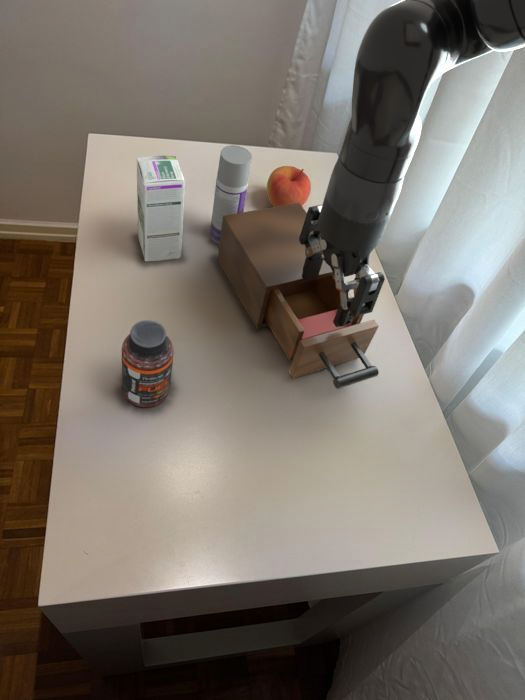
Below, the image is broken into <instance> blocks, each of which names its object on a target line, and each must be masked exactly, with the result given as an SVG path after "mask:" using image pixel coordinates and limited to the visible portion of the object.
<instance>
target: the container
mask: <svg viewBox="0 0 525 700" xmlns="http://www.w3.org/2000/svg"><path fill="white" fill-rule="evenodd" d="M252 159H253V155H252V152H250V150H248V149H247V148H245V147H244V146H240V145H235V144H234V145H233V144H232V145H227V146H224V147H222V148H221V150H220V155H219V161H218V168H217V174H216V181H215V187H214V189H215V190H214V197H213V205H212V213H211V221H210V230H209V236H210V239H211V240H212V241H213V242H214V243H216V244H218V245H219V242H220V235H221V228H222V221H223V216H225V215H231V214H236V213H242V212H245V211H244V210H245V205H246V199H247V194H248V187H249V180H250V174H251V173H250V172H251V168H252V167H251V166H252Z"/></svg>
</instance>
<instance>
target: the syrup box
mask: <svg viewBox="0 0 525 700" xmlns="http://www.w3.org/2000/svg"><path fill="white" fill-rule="evenodd" d="M185 187H186V181H185V177H184V175H183V172H182V169H181V166H180V164H179V161H178V158H177V156H176V155H150V156H149V155H148V156H142V157H136V193H137V195H136V196H137V238H138V241H139V245H140V249H141V252H142V256H143V260H144V262H158V261H159V262H160V261H168V260H169V261H170V260H176V259H177V260H178V259H181V257H182V247H183V230H184V229H183V227H184V210H185V209H184V208H185V207H184V205H185Z"/></svg>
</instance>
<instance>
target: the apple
mask: <svg viewBox="0 0 525 700" xmlns="http://www.w3.org/2000/svg"><path fill="white" fill-rule="evenodd" d="M304 171H305V170H304V168H301V169H299V168H297V167H295V166H291V165H282V166H279V167H276V168H275V169H274V170H273V171H272V172H271V173H270V174H269V177H268V180H267V183H266V194H267V197H268V200H269V202H270V204H271V205H272V207H276V206H282V205H288V204H294V203H300V204H301V206H302V207H303V206H304V205H305V203H306V202H308V199H309V197H310V196H311V190H312V183H311V179H310V178H309V176H308V175H307V173H305V172H304Z"/></svg>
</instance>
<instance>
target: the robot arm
mask: <svg viewBox="0 0 525 700" xmlns="http://www.w3.org/2000/svg"><path fill="white" fill-rule="evenodd" d="M524 47H525V0H400V1H398V2H396V3H394V4H392V5H389V6H388V7H386V8H384V9H383V10H382V11H380V12H379V13H378V14H377V15H376V16H375V17H374V18H373V19H372V21H371V22H370V23H369V25H368V27H367V29H366V31H365V33H364V34H363V37H362V40H361V42H360V44H359V47H358V51H357V53H356V54H357V55H356V59H355V63H354V72H353V82H352V94H351V117H350V120H349V122H348V125H347V129H346V132H345V136H344V138H343V142H342V145H341V149H340V153H339V155H338V158H337V160H336V162H335V164H334V167H333V169H332V171H331V174H330V177H329V180H328V181H329V182H328V184H327V188H326V191H325V194H324V197H323V202H322V204H318V205H312V206H309V207H308V209H307V211H306V213H307V215H306V218H305V221H304V224H303V227H302V231H301V234H300V237H299V241H300V244H301V245H305V247H306V249H305V255H306V259H305V263H304V266H303V273H302V278H303V279H304V281H309V280H313V279H316V278H317V277H318V275H319V272H320V269H321V266H322V263H323V260H324V261H325V262H326V263H327V264H328V265H329V266H330V267H331V270H332V272H333V273H334V275H335V283H336V289H337V290H339V291H340V298H341V304H340V305H339V307H338V310H337V313H336V315H335V318H334V320H333V323H334V325H335V326H336V327H342V326H346V325H349V324H351V323H352V322H353V319H354V317H356V316H360V315H363V314H364V315H366V314H370V313H372V312H373V311H374V308H375V306H376V303H377V301H378V298H379V295H380V293H381V290H382V288H383V285H384V283H385V275H384V273H383V272H382V271H381V272H376V273H375V271H373V269H372V268H371V267H370V257H371V256H370V255H371V253H372V252H373V251H374V249H375V248H377V246H378V245H379V244H380V242H381V240H382V238H383V236H384V233H385V231H386V228H387V226H388V223H389V221H390V219H391V216H392V214H393V212H394V209H395V207H396V204H397V202H398V199H399V197H400V194H401V191H402V188H403V183H404V180H405V176H406V173H407V171H408V168H409V166H410V164H411V161H412V159H413V157H414V154H415V151H416V149H417V146H418V144H419V141H420V138H421V134H422V119H421V116H420V115H419V113H420V109H421V107H422V104H423V102H424V99H425V96H426V94H427V92H428V90H429V88H430V86H431V84H432V83H433V82H434V81H435V80H436V79H438V78H439V77H440V76H442V75H443V74H444V73H446V72H448V71H449V70H451V69H454V68H456V67H458V66H460V65H462V64H465V63H466V62H469V61H471V60H474V59H477V58H479V57H481V56H484V55H486V54H489V53H491V52H493V51H495V52H500V53H501V52H509V51H515V50H518V49H521V48H524ZM312 231H313V233H312V234H310V233H311V232H312ZM320 238H321V240H320ZM319 240H320V241H319ZM322 254H323V256H324V257H323V256H322ZM353 275H354V276H355V277H354V279H353V280H348V281H346V282H345V278H346V277H349V276H353ZM351 290H353V296H352V298H349V294H350V291H351Z"/></svg>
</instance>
